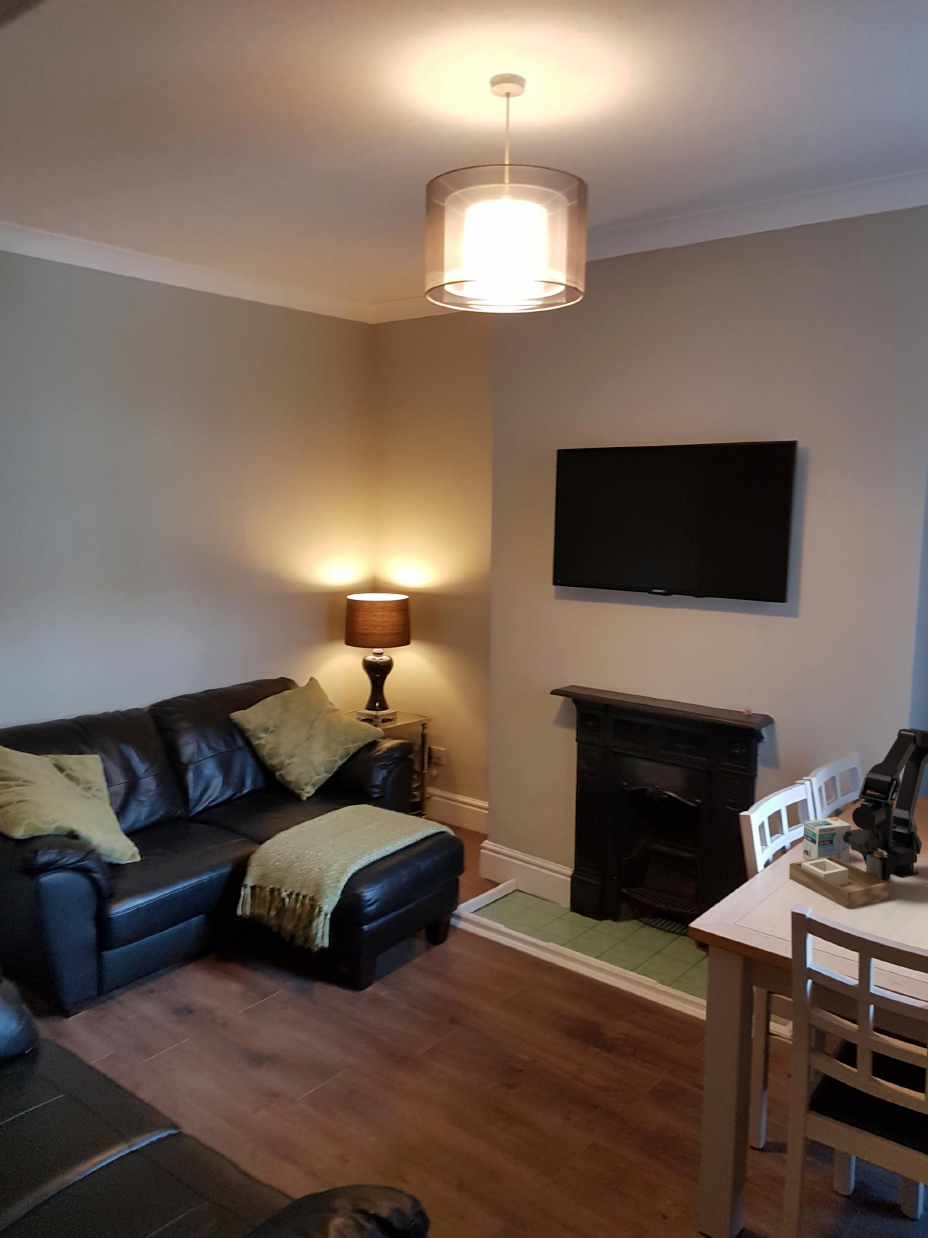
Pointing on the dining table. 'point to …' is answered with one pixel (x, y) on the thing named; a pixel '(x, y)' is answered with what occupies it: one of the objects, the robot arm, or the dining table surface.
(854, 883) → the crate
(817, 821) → the light bulb box
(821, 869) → the inlet socket
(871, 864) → the block
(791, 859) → the dining table surface
